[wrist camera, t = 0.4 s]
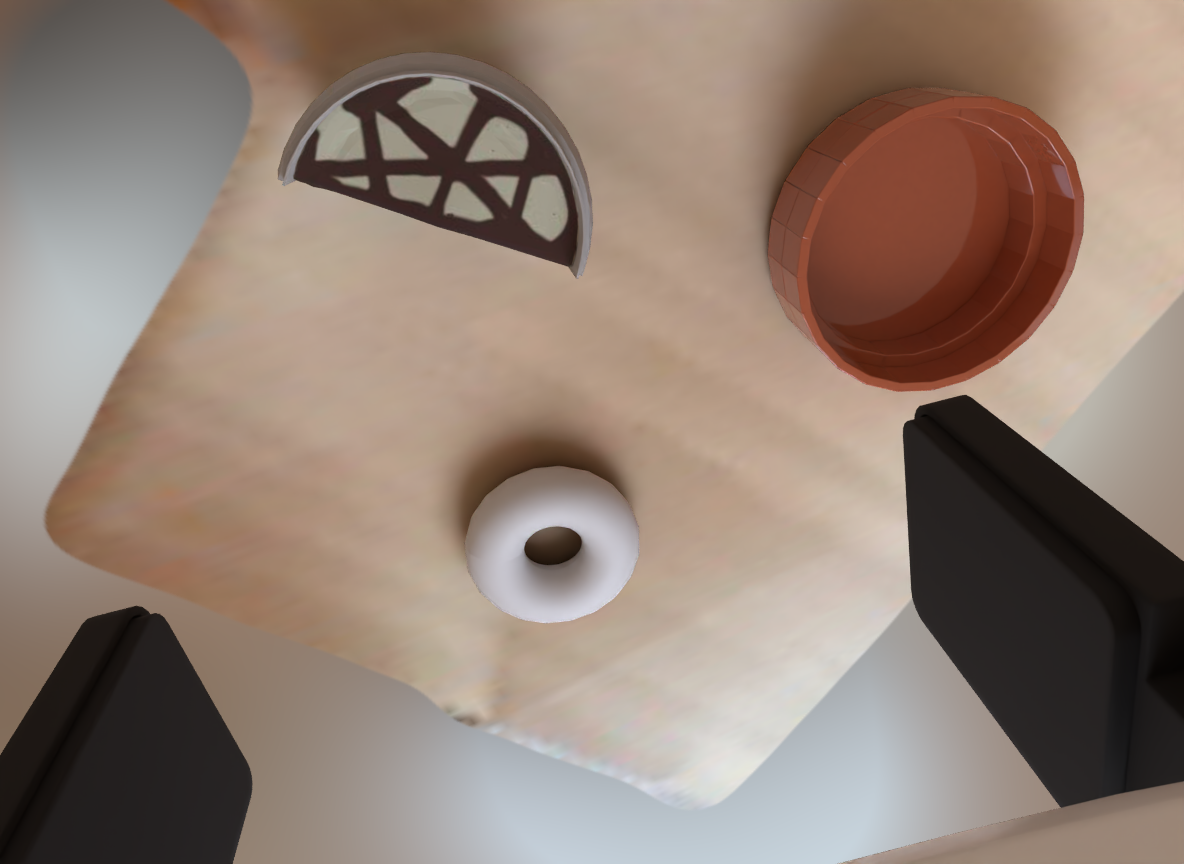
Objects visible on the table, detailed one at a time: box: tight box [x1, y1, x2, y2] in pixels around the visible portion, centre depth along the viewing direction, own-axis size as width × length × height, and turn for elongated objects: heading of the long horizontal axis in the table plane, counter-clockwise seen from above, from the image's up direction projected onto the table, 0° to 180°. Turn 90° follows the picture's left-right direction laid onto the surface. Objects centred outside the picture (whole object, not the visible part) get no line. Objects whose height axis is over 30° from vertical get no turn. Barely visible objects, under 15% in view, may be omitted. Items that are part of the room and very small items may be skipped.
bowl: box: [768, 88, 1084, 392], centre depth 43 cm, size 14×14×5 cm
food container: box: [278, 52, 593, 279], centre depth 35 cm, size 12×6×10 cm, turn 70°
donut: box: [465, 466, 639, 623], centre depth 49 cm, size 10×4×10 cm
